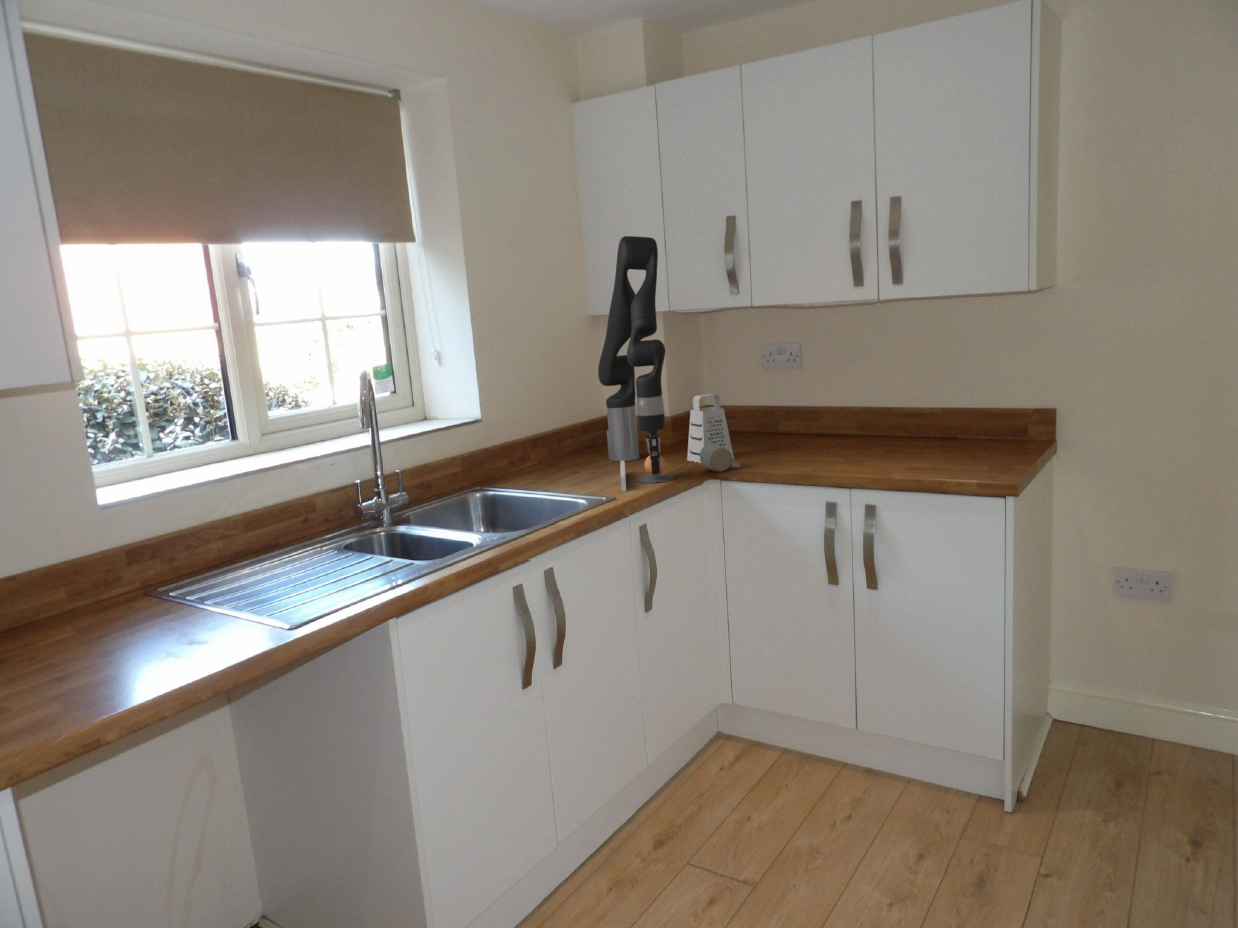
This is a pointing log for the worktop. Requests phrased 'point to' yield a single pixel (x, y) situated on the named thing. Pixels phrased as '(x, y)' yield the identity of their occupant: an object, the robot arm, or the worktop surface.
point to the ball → (649, 467)
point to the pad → (655, 478)
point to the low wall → (623, 475)
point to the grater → (707, 428)
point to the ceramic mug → (717, 458)
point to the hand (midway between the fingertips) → (655, 471)
